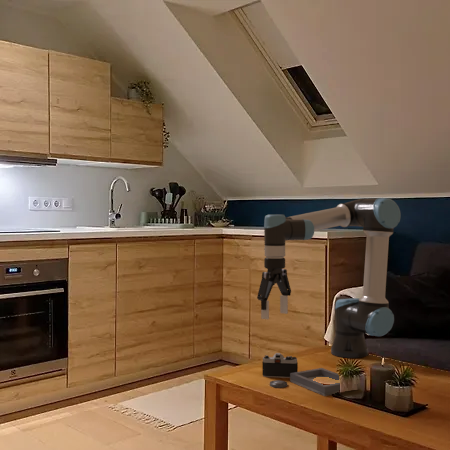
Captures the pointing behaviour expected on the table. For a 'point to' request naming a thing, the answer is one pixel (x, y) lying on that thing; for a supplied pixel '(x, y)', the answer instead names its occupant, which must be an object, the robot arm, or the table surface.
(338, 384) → the case tray
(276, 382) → the lens cap
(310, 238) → the robot arm
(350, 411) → the table surface
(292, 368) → the camera
